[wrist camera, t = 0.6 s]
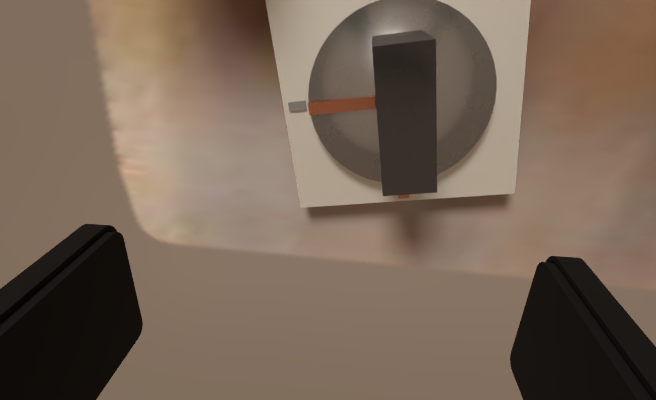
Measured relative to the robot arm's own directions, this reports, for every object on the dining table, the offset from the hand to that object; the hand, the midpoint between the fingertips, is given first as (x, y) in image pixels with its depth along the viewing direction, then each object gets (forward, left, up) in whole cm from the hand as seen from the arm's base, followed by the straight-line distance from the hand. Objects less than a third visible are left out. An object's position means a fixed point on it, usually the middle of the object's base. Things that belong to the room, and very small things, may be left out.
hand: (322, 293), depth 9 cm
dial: (-3, 0, -21) cm, 21 cm away
